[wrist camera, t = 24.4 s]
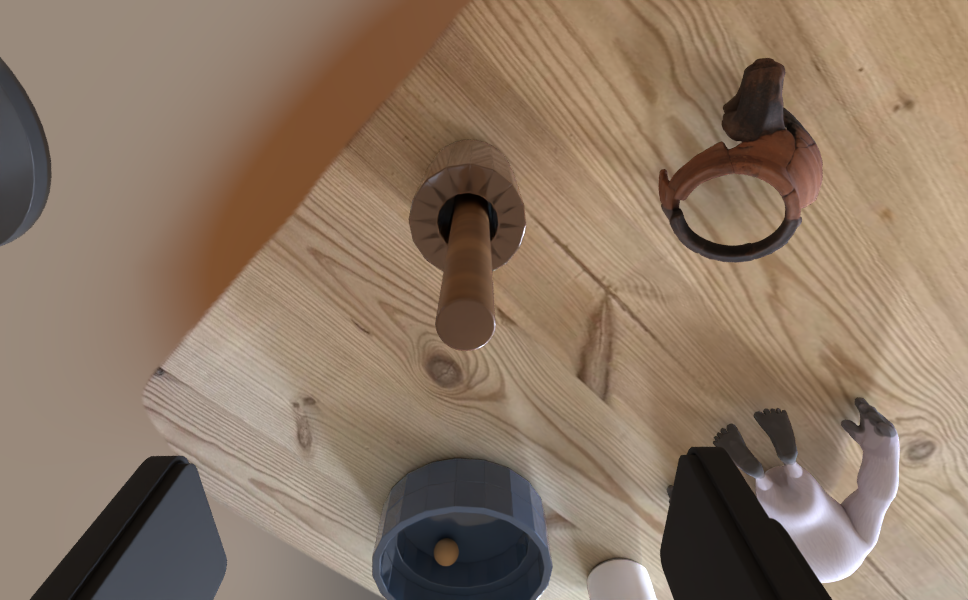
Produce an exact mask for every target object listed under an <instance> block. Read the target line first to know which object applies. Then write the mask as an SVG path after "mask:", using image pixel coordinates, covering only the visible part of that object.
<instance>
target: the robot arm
mask: <svg viewBox="0 0 968 600" xmlns="http://www.w3.org/2000/svg"><path fill="white" fill-rule="evenodd" d="M660 557H661V564H662V568H663V571H664V574H665V577H666V579H667V582H668V585H669V587H670V590H671V593H672V596H673V598H674V600H832V599H831V597H830V596H829V594H828V593H827V591H826V590H825V588H824V587H823V585H822V584H821V582H820V581H819V579H818V578H817V576H816V575H815V573H814V572H813V570H812V569H811V567H810V565H809V564H808V562H807V561H806V559H805V558H804V556H803V555H802V553H801V552H800V550H799V549H798V547H797V546H796V544H795V543H794V541H793V540H792V538H791V537H790V535H789V534H788V532H787V531H786V529H785V528H784V527H783V526H782V525H781V523H779V522H778V521H777V520H775V519H773V518H769V516H768V515H767V513H766V512H765V510H764V509H763V507H762V505H761V504H760V502H759V501H758V499H757V498H756V496H755V495H754V493H753V491H752V490H751V488H750V487H749V485H748V484H747V482H746V481H745V479H744V477H743V476H742V474H741V473H740V471H739V470H738V468H737V466H736V465H735V463H734V462H733V460H732V459H731V457H730V456H729V454H728V452H727V451H726V450H725V449H724V448H722V447H691V448H690V449H689V450H688V453H687V455H681V456H680V458H679V462H678V466H677V471H676V476H675V481H674V486H673V491H672V495H671V500H670V505H669V510H668V515H667V520H666V524H665V529H664V534H663V539H662V544H661V549H660ZM226 566H227V559H226V555H225V552H224V549H223V546H222V543H221V540H220V537H219V534H218V531H217V528H216V525H215V522H214V519H213V516H212V513H211V510H210V507H209V504H208V501H207V498H206V495H205V492H204V489H203V486H202V483H201V480H200V477H199V474H198V471H197V468H196V466H195V465H194V464H190V463H189V462H188V460H187V458H185V457H184V456H151V457H149V458H147V459H146V460H145V461H144V462H143V463H142V464H141V465H140V466H139V468H138V469H137V470H136V471H135V473H134V474H133V475H132V476H131V477H130V479H129V480H128V481H127V482H126V484H125V485H124V486H123V487H122V488H121V490H120V491H119V492H118V493H117V494H116V496H115V497H114V498H113V499H112V500H111V502H110V503H109V504H108V505H107V506H106V508H105V509H104V510H103V511H102V512H101V514H100V515H99V516H98V517H97V519H96V520H95V521H94V522H93V524H92V525H91V526H90V527H89V528H88V529H87V531H86V532H85V533H84V534H83V536H82V537H81V538H80V539H79V540H78V542H77V543H76V544H75V545H74V546H73V548H72V549H71V550H70V552H69V553H68V554H67V555H66V556H65V558H64V559H63V560H62V561H61V562H60V563H59V565H58V566H57V567H56V568H55V570H54V571H53V572H52V573H51V575H50V576H49V577H48V578H47V579H46V581H45V582H44V583H43V584H42V585H41V587H40V588H39V589H38V590H37V591H36V593H35V594H34V595H33V596H32V597H31V599H30V600H213V599H214V597H215V595H216V593H217V591H218V588H219V586H220V584H221V582H222V580H223V578H224V575H225V572H226Z"/></svg>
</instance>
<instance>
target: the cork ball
mask: <svg viewBox="0 0 968 600" xmlns="http://www.w3.org/2000/svg"><path fill="white" fill-rule="evenodd" d="M458 555H459V549H458V546H457V544H456V542H455V541H453V540H452V539H449V538H444V539H441V540H440V541H439V542H438V543H437V544H436V546H435V548H434V557H435V560H436V561H437V562H438V563H439V564H440V565H442V566H450V565H452V564H453V563H454V562H455V561H456V560H457V558H458Z"/></svg>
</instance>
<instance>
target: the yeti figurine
mask: <svg viewBox="0 0 968 600" xmlns="http://www.w3.org/2000/svg"><path fill="white" fill-rule="evenodd" d="M855 405H856V407H857V408H858V410H859V412H860V425H859V426H857V425H856V424H855V423H854V422H852V421H850V420H843V421H842V422H841V426H842V427H843V428H844V429H845V430H846V431H847V432H848V433H849V435H850V436H851V437H852V438H853V439H854V440H855V441H856V442H857V443H858V444H859V445H860V446H861V448H862V450H863V459H862V464H861V466H860V469H859V472H858V476H857V484H858V489H857V490H856V491H854V492H853V493H852V494H850V495H849V496H848V497H847V498H846V499H845V500H844V501H843V502H842V504H839V503H838V502H837V501H836V500H834V499H833V498H832V497H830V496H829V495H828V494H827V493H826V492H825V490H824V489H823V488H822V486H821V485H820V484H819V483H818V482H817V480H816V479H815V478H814V477H813V476H812V475H811V473H809V472H808V471H807V470H806V469H804V468H803V467H801V466H800V465H799V464H797V463H796V457H797V454H798V452H797V447H796V443H795V437H794V433H793V430H792V427H791V423H790V421H789V418H788V415H787V412H786V411H785V410H782V413H781V410H780V409H779V408H777V409H776V411H775V409H773V408H771V410H770V411H769V410H768V409H764V411H763V412H764V414H765V415H764V414H763V413H762V412H759V411H758V412H755V413H754V418H755V419H756V421H757V422H758V424H759V425H760V426H761V428H762V429H763V430H764V431H765V432H766V433H767V435H768V436H769V437H770V439H771V441H772V443H773V445H774V447H775V450H776V453H777V455H778V457H779V459H780V460H781V461H782V462H783V463H784V466H776V467H772V468H770V469H769V470H767V471H766V472H765V473H764V470H763V467H762V464H761V463H760V462H759V461H758V460H757V459H756V458H755V457H754V455H753V454H752V453H751V452H750V450H749V449H748V448H747V446H746V445H745V442H744V440H743V438H742V436H741V434H740V432H739V431H738V429H737V427H736V426H735V425H734V424H729V425H727V431H726V429H724V428H721V431H720V432H721V433H722V434H723V435H722V434H721V433H720V432H718V433H717V436H718V437H717V436H715V437H714V439H715V440H716V441H713V444H714V445H715V446H716V447H722V448H724V449H725V450H726V451H727V452H728V454H729V456H730V457H731V459H732V460H733V462H734V463H735V465H736V466H738V467H739V468H740V469H741V470H743V471H744V472H745V473H746V474H748V475H750V476H753V477H754V478H755V479H756V495H757V499H758V501H759V502H760V504H761V505H762V507H763V509H764V510H765V512H766V513H767V515H768V516H769V518H773V519H775V520H777V521H778V522H779V523H781V525H782V526H783V527H784V528H785V529H786V531H787V532H788V534H789V535H790V537H791V538H792V540H793V541H794V543H795V544H796V546H797V547H798V549H799V550H800V552H801V553H802V555H803V556H804V558H805V559H806V561H807V562H808V564H809V565H810V567H811V569H812V570H813V572H814V573H815V575H816V576H817V578H818V579H819V581H820V582H821V583H825V582H833V581H838V580H841V579H843V578H845V577H847V576H849V575H850V574H852V573H853V572H854V571H855V570H856V569H857V568H858V567H859V566H860V565H861V563H862V562H863V560H864V559H865V557H866V556H867V554H868V553H869V552H870V551H871V550H872V549H873V547H874V546H875V544H876V542H877V540H878V536H879V533H880V529H881V525H882V522H883V518H884V515H885V512H886V510H887V509H888V507H889V505H890V503H891V501H892V500H893V499H894V497H895V496H896V493H897V489H898V481H899V437H898V434H897V431H896V429H895V427H894V425H893V424H892V423H891V422H890V421H888V420H887V419H886V418H885V417H884V416H883V415H881V414H880V413H879V412H877V410H876V409H875V408H874V407H872V406H870V405H869V404H868V403H867V402H866V401H865V399H863V398H856V399H855ZM770 412H771V413H770ZM672 491H673V486H671V485H670V486H669V487H668V488H667V492H668V495H669V498H670V499H669V503H670V500H671V495H672Z"/></svg>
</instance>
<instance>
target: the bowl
mask: <svg viewBox="0 0 968 600" xmlns="http://www.w3.org/2000/svg"><path fill="white" fill-rule="evenodd" d="M444 538H449V539H452V540H453V541H455V542H456V544H457V546H458V549H459V555H458V558H457V560H456V561H455V562H454V563H453V564H452V565H450V566H442V565H440V564H439V563H438V562H437V561H436V560H435V557H434V548H435V546H436V544H437V543H438V542H439V541H440V540H441V539H444ZM552 567H553V566H552V559H551V552H550V545H549V539H548V532H547V525H546V518H545V513H544V509H543V504H542V500H541V498H540V496H539V495H538V493H537V492H536V491H535V489H534V488H533V487H532V485H531V484H530V483H529V481H527V480H526V479H524V478H523V477H521V476H520V475H518V474H517V473H516V472H514V471H513V470H511V469H510V468H508V467H505V466H502V465H499V464H496V463H492V462H489V461H486V460H478V459H463V458H454V459H449V460H443V461H437V462H432V463H429V464H427V465H425V466H423V467H421V468H419V469H416V470H414V471H412V472H410V473H408V474H407V475H406V476H404V477H403V478H402V479H401V480H400V481H399V482H398V483H397V484H396V485H395V486H394V487H393V488H392V489H391V491H390V493H389V495H388V497H387V499H386V501H385V503H384V505H383V509H382V514H381V519H380V523H379V528H378V533H377V537H376V542H375V547H374V552H373V556H372V575H373V578H374V580H375V582H376V584H377V587H378V589H379V591H380V593H381V594H382V595H383V596H384V597H385V598H386V599H387V600H538V599H539V597H540V596H541V595H542V593H543V592H544V590H545V589H546V588H547V586H548V585H549V580H550V576H551V572H552Z"/></svg>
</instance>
